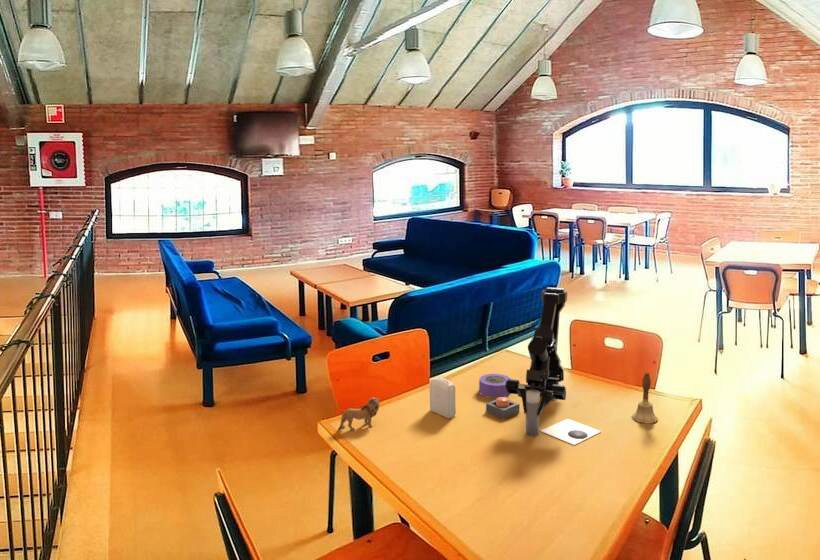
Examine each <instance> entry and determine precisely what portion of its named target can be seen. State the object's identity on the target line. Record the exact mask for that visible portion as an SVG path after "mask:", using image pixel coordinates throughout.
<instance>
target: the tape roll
mask: <svg viewBox="0 0 820 560" xmlns="http://www.w3.org/2000/svg"><path fill="white" fill-rule="evenodd" d="M508 379H512V378H511V377H510V376H509V375H505V374H501V373H487V374H483V375H481V376H480V377H479V380H478V382H479V383H478V385H479V386H478V391H479V393H481V396H484V397H487V396H488V397H487V398H495V399H496V398H498V397H506V398H507V397H508V396H510V395H512V394H511V393H508V392H507V389H506V387H505V385H506V381H507V380H508Z"/></svg>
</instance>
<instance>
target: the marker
mask: <svg viewBox="0 0 820 560" xmlns="http://www.w3.org/2000/svg"><path fill="white" fill-rule="evenodd" d="M540 402H541V395H540V391H538V390H533V389H531V390H527V391H526V414H525V435H527V436H529V437H538V436H539V431H540V430H539V427H540V423H539V422H540V416H538V410H539V406H540Z"/></svg>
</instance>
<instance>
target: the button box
mask: <svg viewBox="0 0 820 560" xmlns="http://www.w3.org/2000/svg"><path fill="white" fill-rule="evenodd" d="M485 412H486V413H488V414H491V415H493V416H495V417H498V418H500V419H503V420H504V419H507V418H510V417H511V416H514V415H516V414H519V413H520V403H518V402H515V401H512V400H510V406H508V407H506V408H501V407H499V406H496V399H494V400H492V401H489V402H486V403H485Z"/></svg>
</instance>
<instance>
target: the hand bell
mask: <svg viewBox="0 0 820 560" xmlns="http://www.w3.org/2000/svg"><path fill="white" fill-rule="evenodd" d="M641 383H642V390H643V393H642V400H640V401H639V402H637V403H638V404H637V407H636V410H635V412H634V413H633V414H631V419H632V418H633V419H634V420H636V421H638V422H637V423H639V422H642V423H641V424H645V423H651V424H655V423H657V422H658V421H657V420H659V419H658V417H657V415H656V414H655V412H654V408H653V403H652V402H650V401H649V391H650V388H651V383H652V381H651V377H650V373H649V372H644V375H643V377H642V382H641ZM633 419H632V420H633ZM634 420H633V421H634ZM636 421H635V422H636ZM656 421H657V422H656ZM654 422H655V423H654Z"/></svg>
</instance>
